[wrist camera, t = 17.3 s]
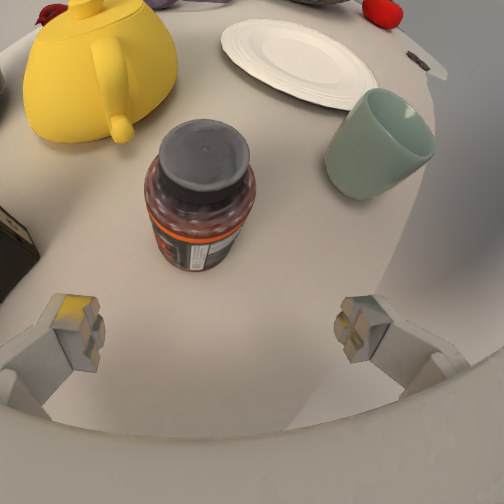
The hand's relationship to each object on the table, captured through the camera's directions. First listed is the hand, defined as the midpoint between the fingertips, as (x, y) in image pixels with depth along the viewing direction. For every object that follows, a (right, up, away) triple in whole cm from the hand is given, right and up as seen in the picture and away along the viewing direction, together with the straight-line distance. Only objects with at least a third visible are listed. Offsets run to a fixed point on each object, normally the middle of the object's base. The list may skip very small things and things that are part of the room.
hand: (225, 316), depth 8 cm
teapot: (-17, +21, +16) cm, 31 cm away
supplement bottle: (-4, +3, +13) cm, 14 cm away
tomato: (+39, +72, +45) cm, 94 cm away
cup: (+11, +10, +19) cm, 24 cm away
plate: (+8, +30, +25) cm, 40 cm away
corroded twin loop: (+46, +54, +41) cm, 81 cm away
